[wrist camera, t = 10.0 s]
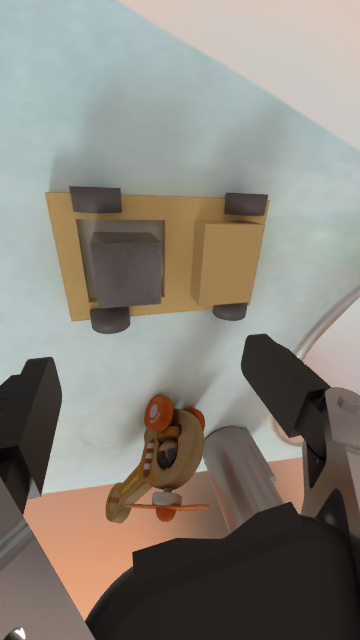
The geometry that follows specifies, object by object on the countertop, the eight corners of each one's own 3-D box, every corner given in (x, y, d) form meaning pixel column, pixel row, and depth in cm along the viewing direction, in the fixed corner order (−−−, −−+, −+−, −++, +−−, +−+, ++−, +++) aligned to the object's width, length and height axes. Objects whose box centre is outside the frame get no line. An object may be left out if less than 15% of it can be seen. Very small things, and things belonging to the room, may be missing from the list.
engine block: (150, 232, 24) (161, 242, 19) (151, 283, 27) (160, 304, 22) (93, 232, 23) (89, 243, 18) (100, 286, 25) (98, 308, 21)
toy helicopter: (203, 399, 39) (245, 489, 27) (130, 476, 43) (139, 581, 32) (164, 382, 35) (193, 479, 23) (89, 469, 39) (81, 586, 28)
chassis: (262, 194, 25) (289, 195, 22) (242, 304, 32) (261, 320, 28) (47, 185, 20) (33, 184, 16) (74, 319, 26) (68, 340, 23)
